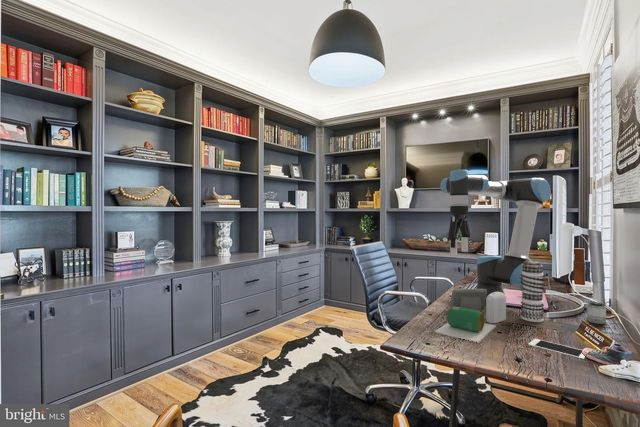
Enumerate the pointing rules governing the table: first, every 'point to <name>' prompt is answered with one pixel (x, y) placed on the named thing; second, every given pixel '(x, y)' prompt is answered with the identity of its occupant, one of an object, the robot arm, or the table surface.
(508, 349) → the table surface
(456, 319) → the beverage can
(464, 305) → the grey translucent bin
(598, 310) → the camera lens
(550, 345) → the cell phone
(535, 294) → the tower model
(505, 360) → the table surface
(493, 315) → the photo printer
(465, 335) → the desk mat
